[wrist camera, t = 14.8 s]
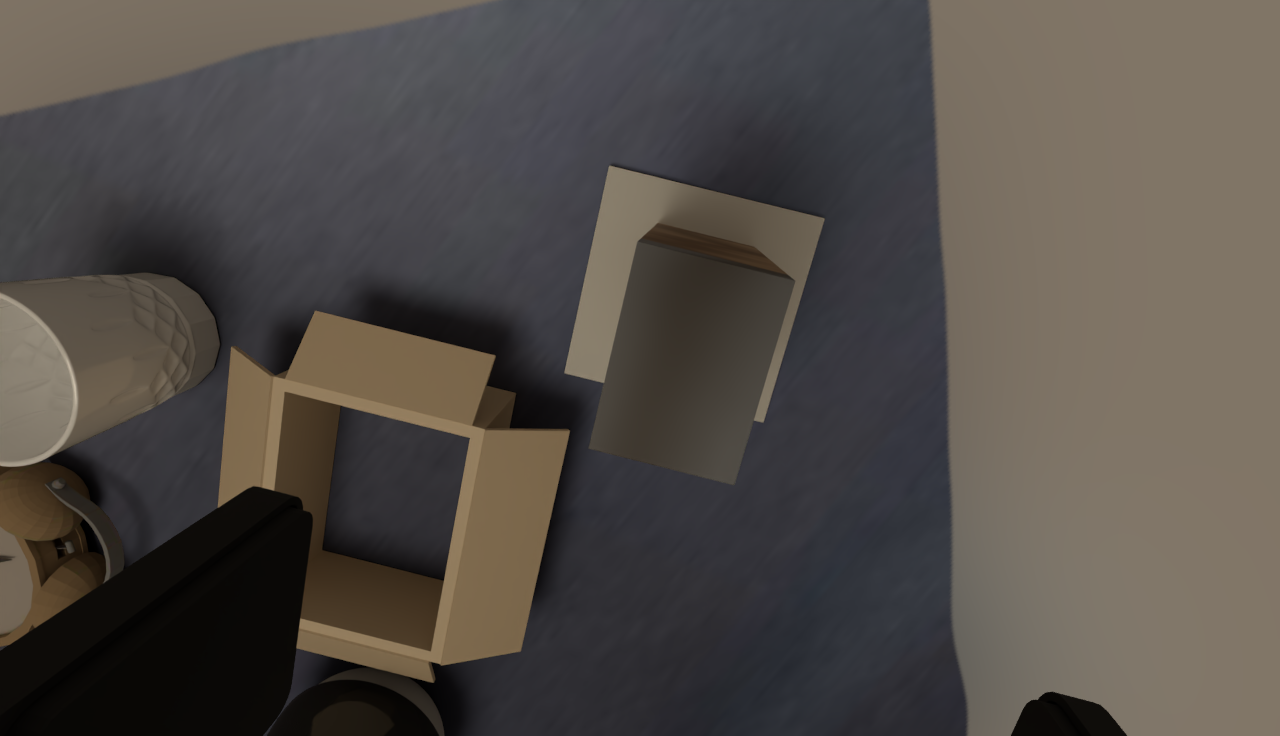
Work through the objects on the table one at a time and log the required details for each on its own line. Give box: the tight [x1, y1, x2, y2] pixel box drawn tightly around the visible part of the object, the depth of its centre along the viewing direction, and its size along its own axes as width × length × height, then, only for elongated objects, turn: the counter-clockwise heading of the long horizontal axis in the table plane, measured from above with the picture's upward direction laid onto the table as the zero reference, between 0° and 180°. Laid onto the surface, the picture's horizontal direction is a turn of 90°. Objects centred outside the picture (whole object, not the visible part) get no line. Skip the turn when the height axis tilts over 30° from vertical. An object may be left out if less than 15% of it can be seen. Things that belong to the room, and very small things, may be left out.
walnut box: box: [589, 223, 795, 485], centre depth 29 cm, size 5×7×14 cm
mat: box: [564, 166, 825, 422], centre depth 36 cm, size 11×11×1 cm
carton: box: [218, 311, 570, 683], centre depth 37 cm, size 18×19×6 cm
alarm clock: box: [0, 462, 124, 646], centre depth 41 cm, size 11×5×15 cm
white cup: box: [0, 273, 220, 467], centre depth 34 cm, size 8×8×10 cm
